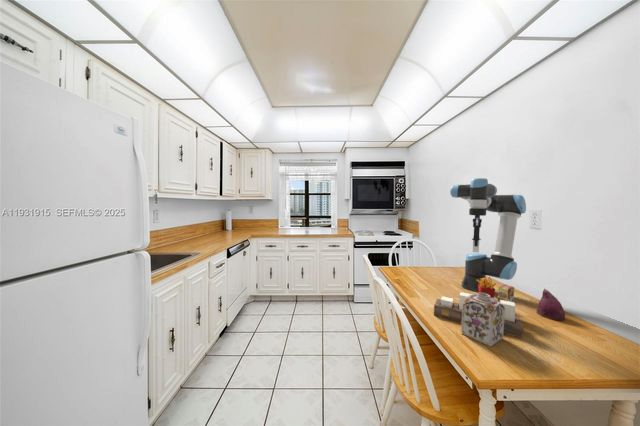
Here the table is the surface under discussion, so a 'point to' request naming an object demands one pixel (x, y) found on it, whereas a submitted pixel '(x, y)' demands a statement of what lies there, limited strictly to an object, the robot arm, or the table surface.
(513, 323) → the wooden candle holder
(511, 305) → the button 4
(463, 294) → the white block
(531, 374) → the table surface
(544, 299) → the vegetable
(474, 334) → the decorative jar
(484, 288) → the french fries
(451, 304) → the white rectangular block
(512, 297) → the candy box
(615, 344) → the table surface
